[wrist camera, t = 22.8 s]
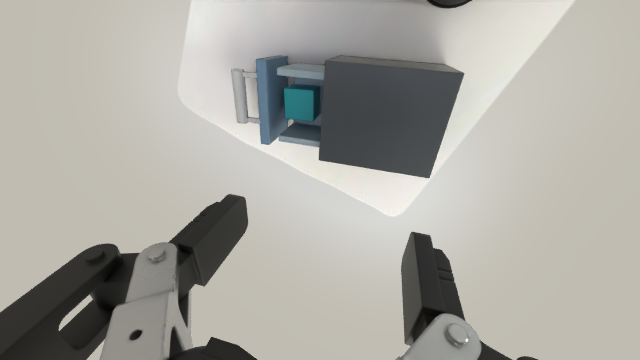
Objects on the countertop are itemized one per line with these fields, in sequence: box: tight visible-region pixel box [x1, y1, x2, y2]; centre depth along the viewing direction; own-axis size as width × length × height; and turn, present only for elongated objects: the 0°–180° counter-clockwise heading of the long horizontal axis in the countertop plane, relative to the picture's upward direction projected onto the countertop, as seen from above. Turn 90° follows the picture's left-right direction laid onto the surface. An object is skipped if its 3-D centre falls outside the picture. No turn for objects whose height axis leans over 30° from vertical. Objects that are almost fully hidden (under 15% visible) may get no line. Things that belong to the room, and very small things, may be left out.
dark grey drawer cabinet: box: [319, 55, 464, 178], centre depth 31 cm, size 14×12×9 cm
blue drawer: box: [231, 56, 325, 147], centre depth 33 cm, size 17×10×7 cm, turn 86°
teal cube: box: [284, 84, 320, 121], centre depth 34 cm, size 4×4×4 cm
